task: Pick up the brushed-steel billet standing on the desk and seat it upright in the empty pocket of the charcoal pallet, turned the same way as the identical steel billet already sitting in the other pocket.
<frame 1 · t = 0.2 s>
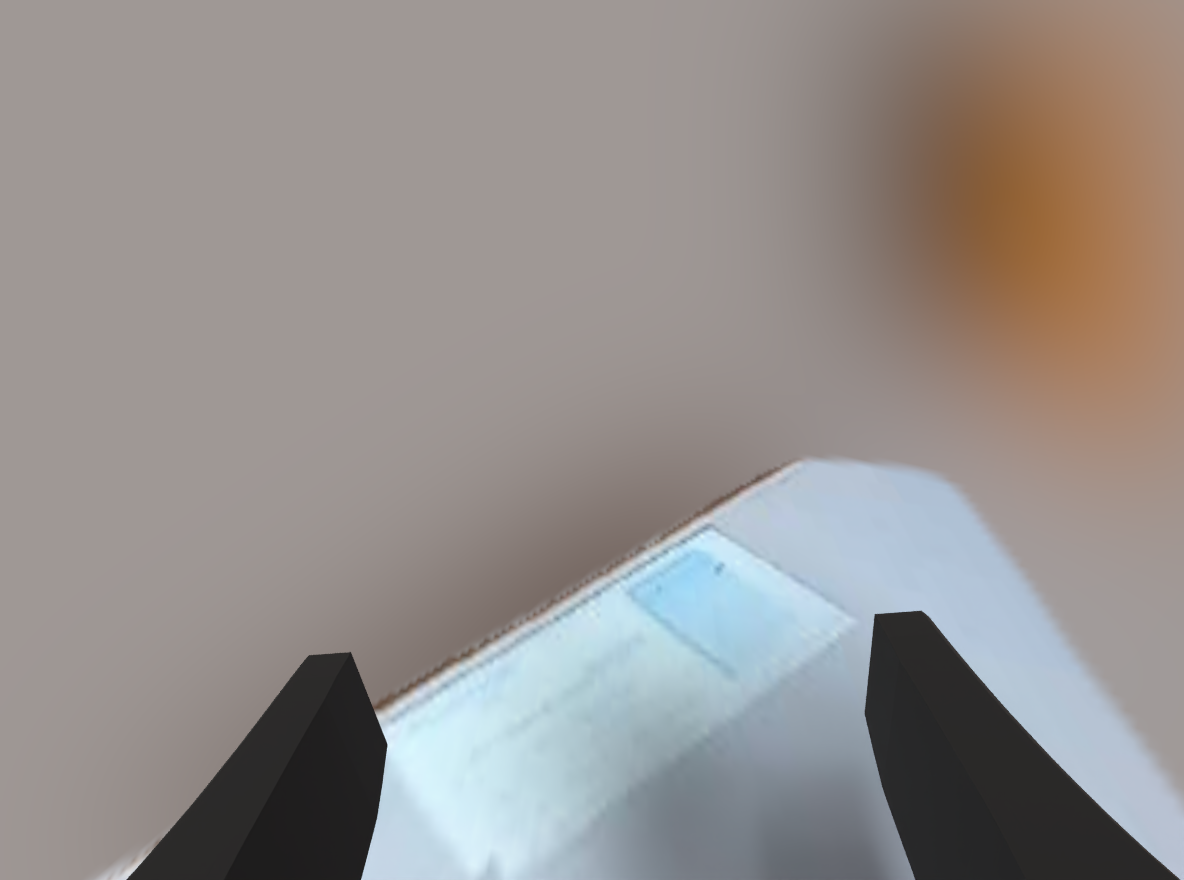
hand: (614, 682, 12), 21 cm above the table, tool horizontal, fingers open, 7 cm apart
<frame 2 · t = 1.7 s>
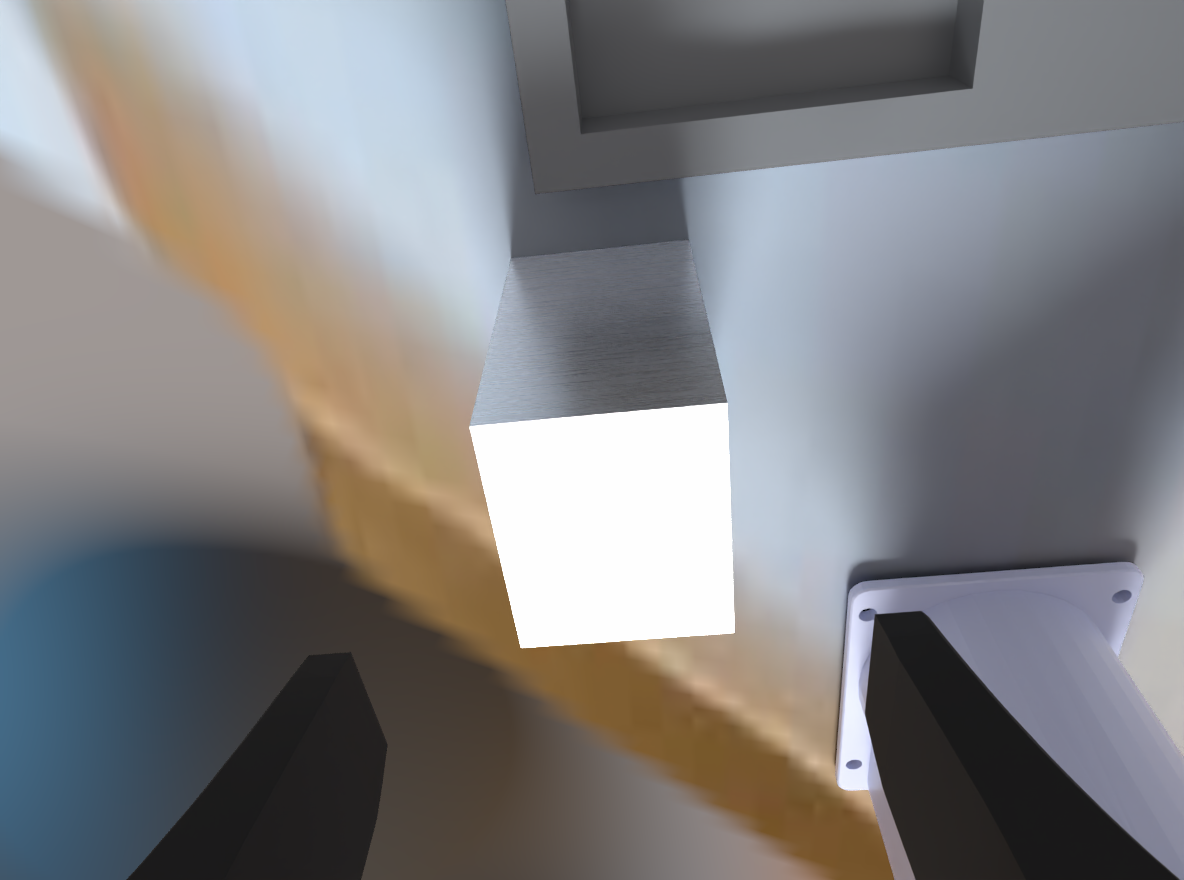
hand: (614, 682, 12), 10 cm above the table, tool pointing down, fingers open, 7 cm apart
billet: (610, 347, 20), on the table
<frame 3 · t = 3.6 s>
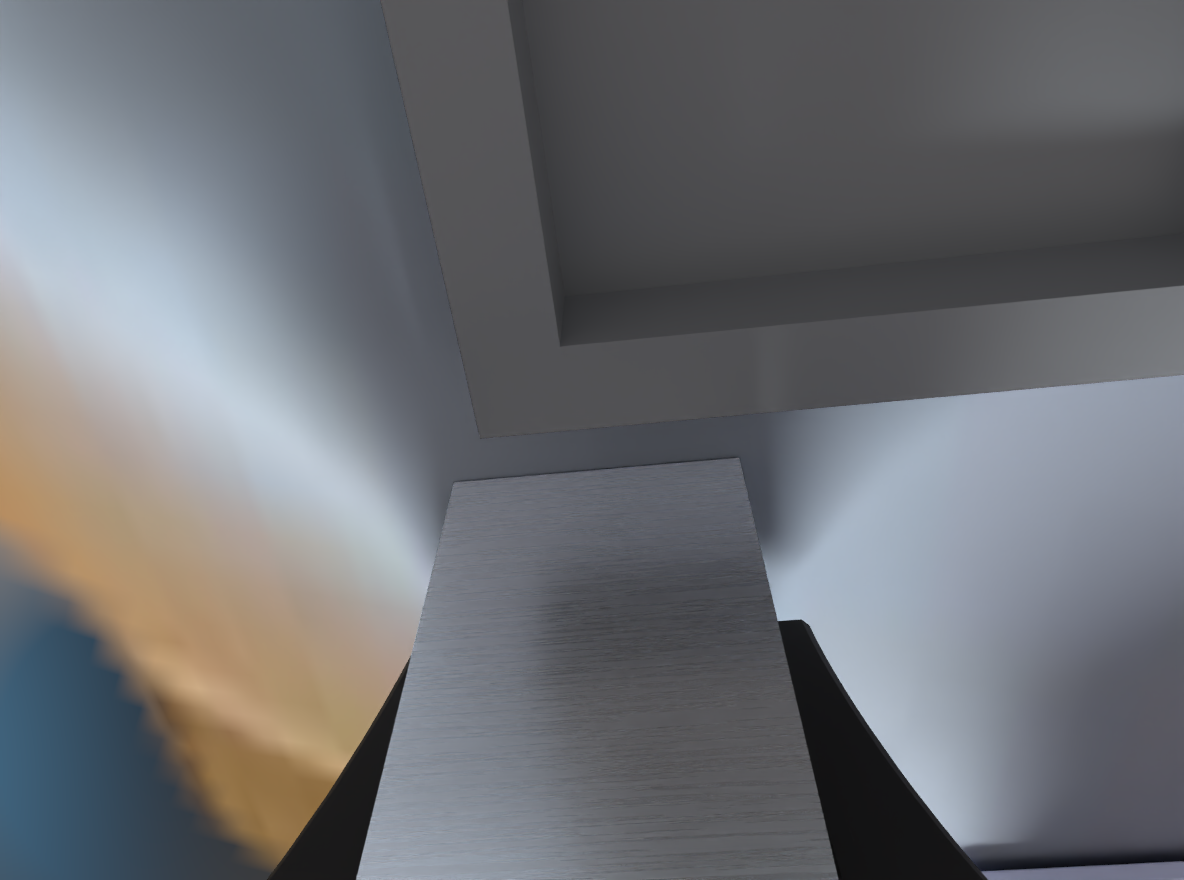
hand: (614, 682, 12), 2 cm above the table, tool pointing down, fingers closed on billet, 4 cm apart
billet: (612, 599, 13), on the table, touching gripper
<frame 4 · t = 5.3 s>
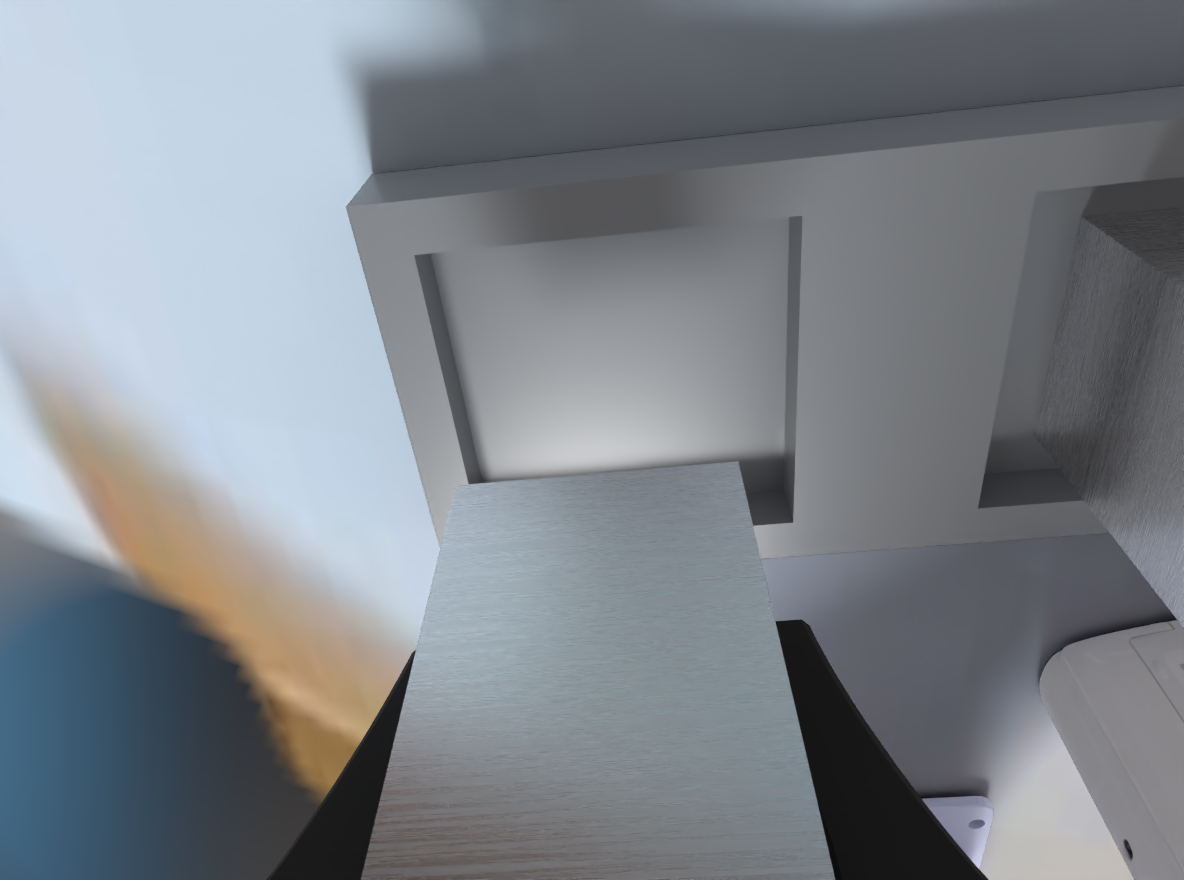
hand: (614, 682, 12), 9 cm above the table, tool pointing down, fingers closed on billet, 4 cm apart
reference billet: (1155, 325, 17), resting on pallet
billet: (612, 601, 13), point 7 cm above the table, touching gripper
pallet: (872, 332, 18), on the table
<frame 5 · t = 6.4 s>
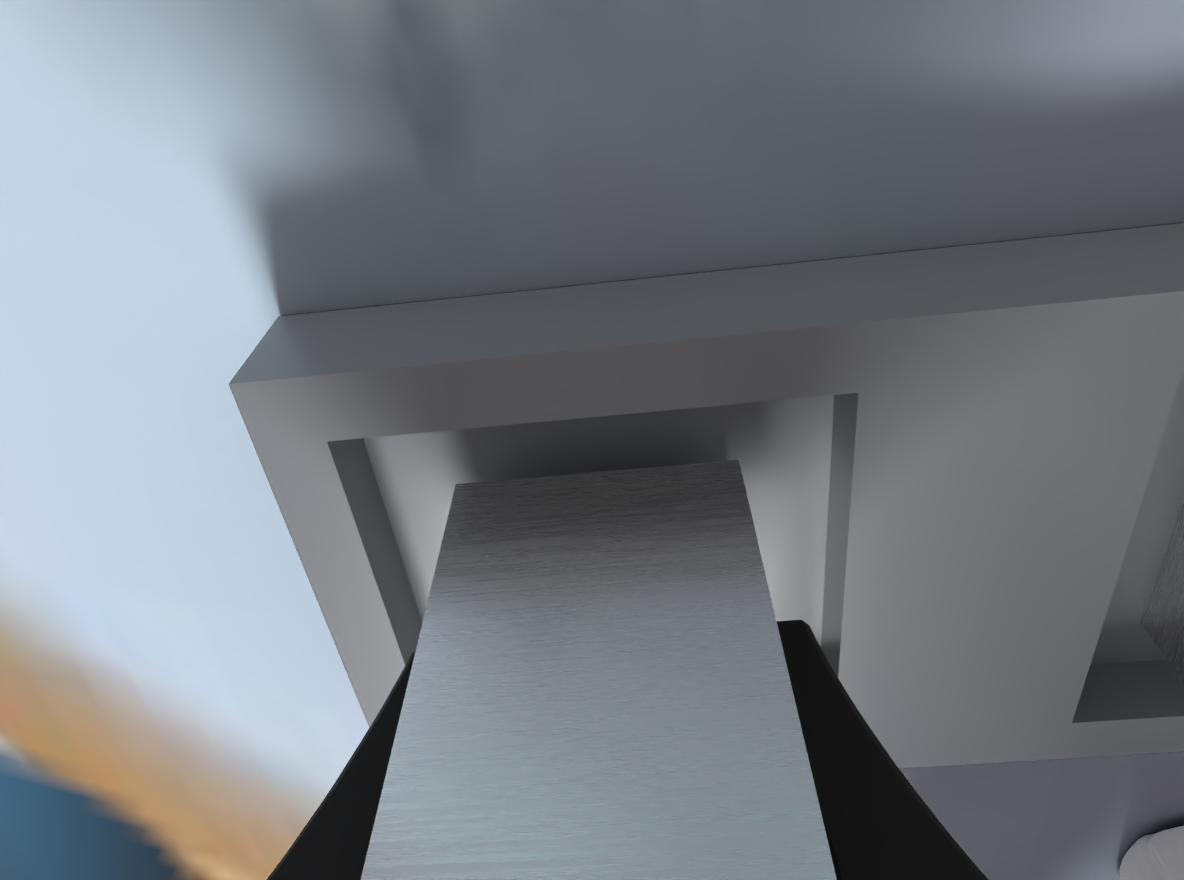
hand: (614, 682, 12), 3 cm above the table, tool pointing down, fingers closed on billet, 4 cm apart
billet: (613, 599, 13), point 2 cm above the table, touching gripper
pallet: (936, 499, 14), on the table
when the fingers open (3 cm above the table, at t = 7.2 s): billet stays where it is, resting on pallet.
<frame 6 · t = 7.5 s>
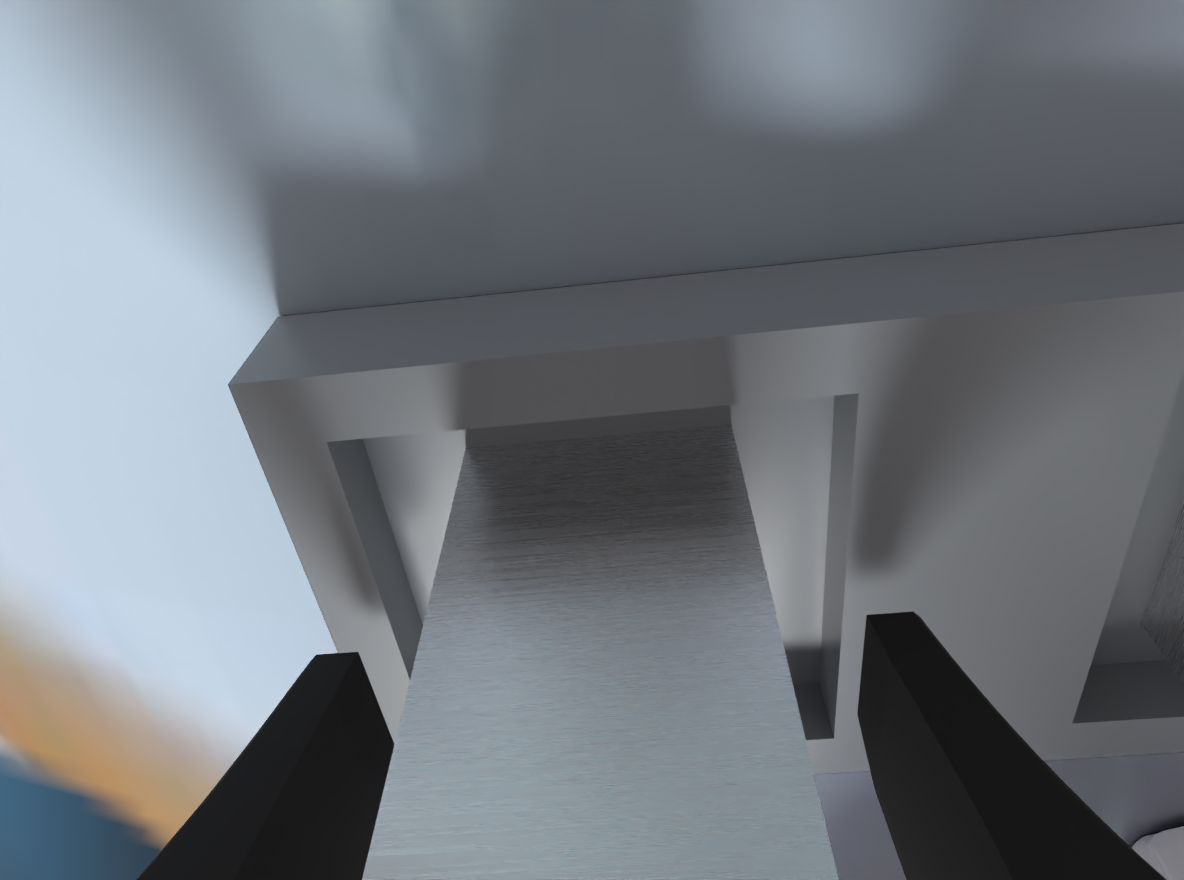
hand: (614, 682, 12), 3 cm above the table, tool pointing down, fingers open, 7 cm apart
billet: (613, 561, 14), point 1 cm above the table, touching pallet
pallet: (936, 499, 14), on the table
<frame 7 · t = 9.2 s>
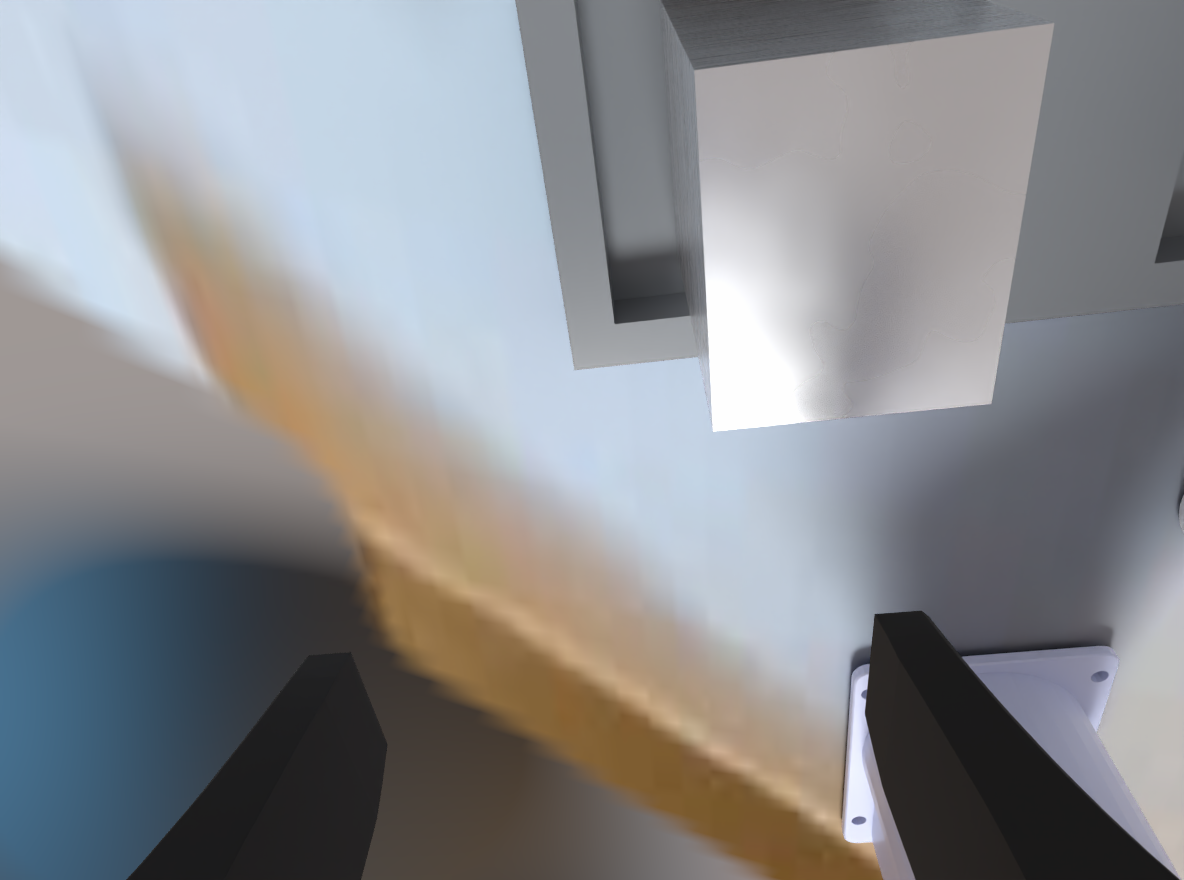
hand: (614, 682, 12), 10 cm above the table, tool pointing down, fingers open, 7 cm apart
billet: (769, 123, 17), point 1 cm above the table, touching pallet
pallet: (1038, 73, 17), on the table
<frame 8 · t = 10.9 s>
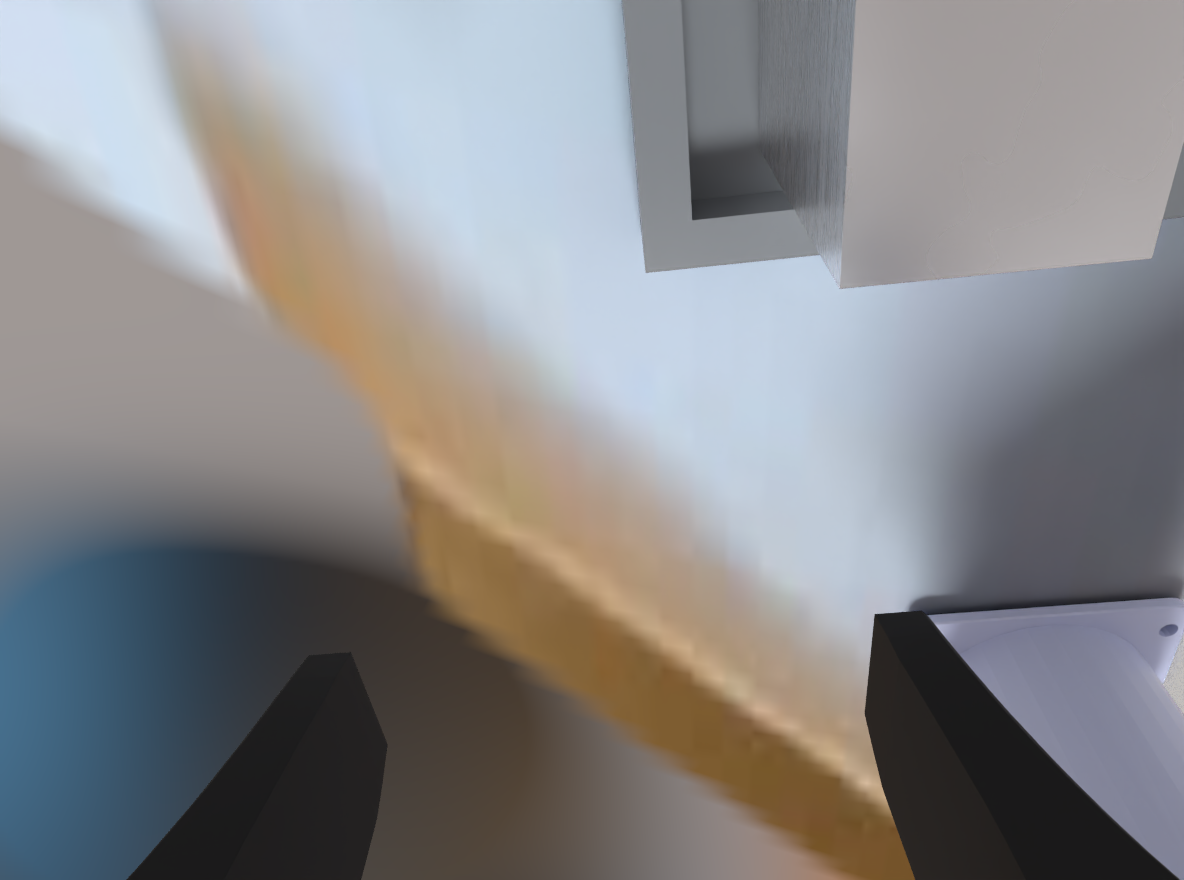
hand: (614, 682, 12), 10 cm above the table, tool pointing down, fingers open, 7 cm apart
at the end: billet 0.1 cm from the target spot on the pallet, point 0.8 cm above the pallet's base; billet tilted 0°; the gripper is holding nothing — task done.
